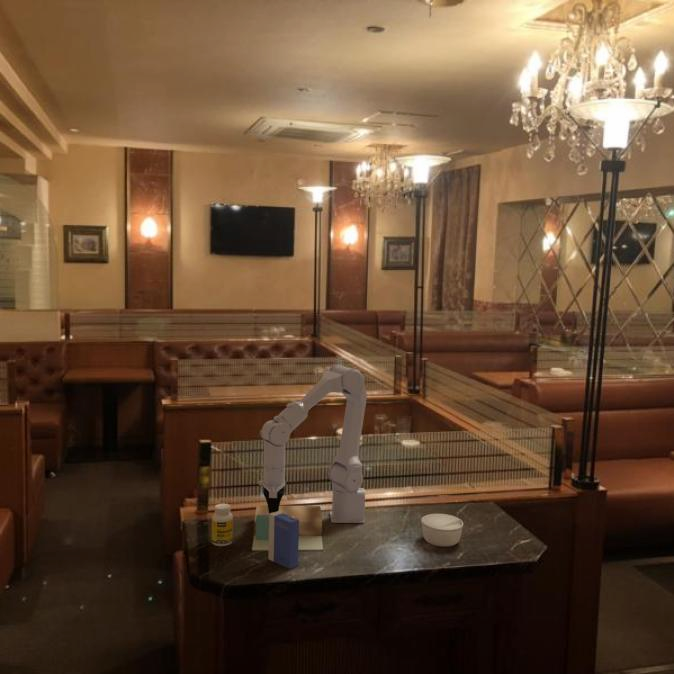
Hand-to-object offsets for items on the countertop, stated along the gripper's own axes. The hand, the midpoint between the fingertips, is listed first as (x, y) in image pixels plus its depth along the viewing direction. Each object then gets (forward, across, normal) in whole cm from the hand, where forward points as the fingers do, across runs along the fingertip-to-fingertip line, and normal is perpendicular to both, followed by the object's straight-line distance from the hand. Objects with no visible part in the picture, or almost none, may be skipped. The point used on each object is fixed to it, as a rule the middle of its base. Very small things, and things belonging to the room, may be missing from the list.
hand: (273, 514), depth 185 cm
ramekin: (+5, +4, +45) cm, 46 cm away
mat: (+5, +7, +4) cm, 10 cm away
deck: (+5, -3, +4) cm, 7 cm away
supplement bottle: (+5, +7, -13) cm, 15 cm away
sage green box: (+2, +4, 0) cm, 4 cm away
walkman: (+5, +19, +3) cm, 20 cm away
